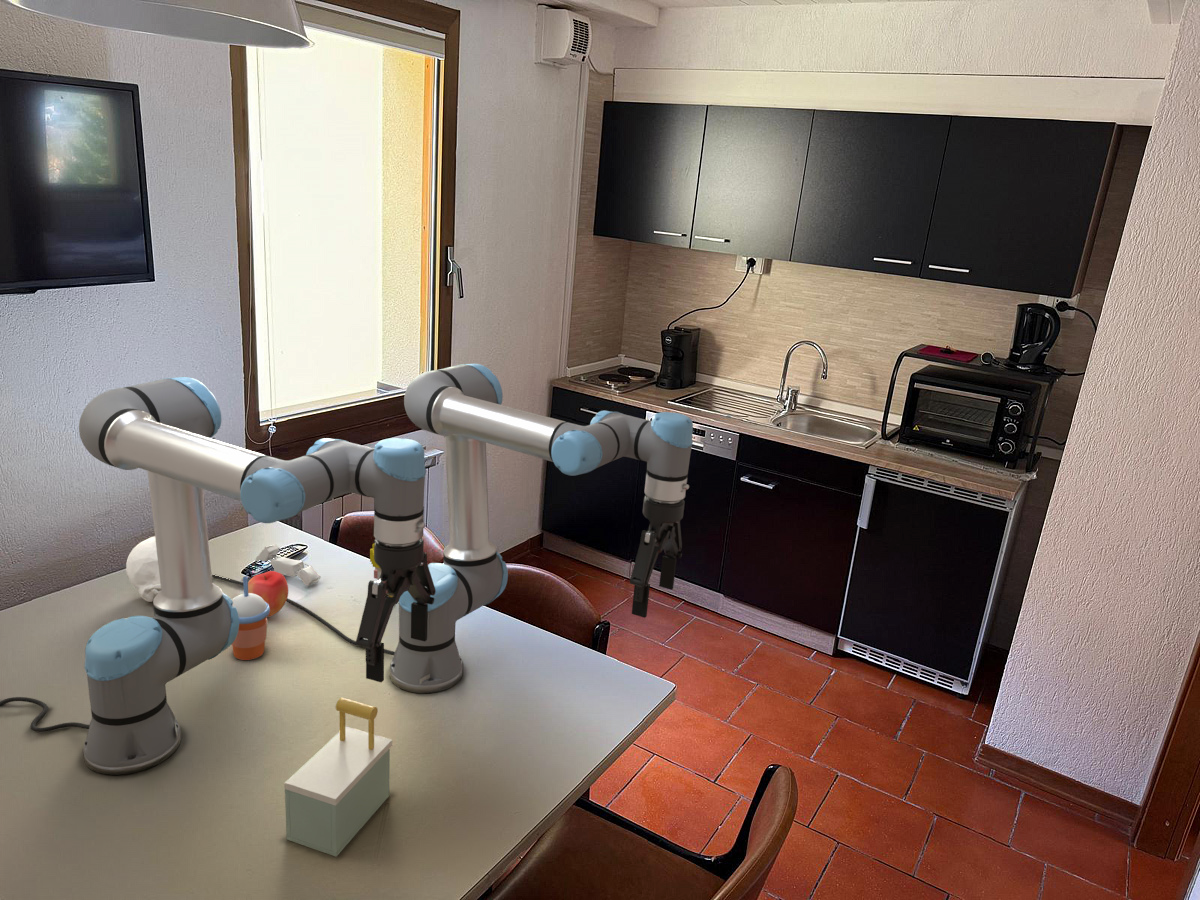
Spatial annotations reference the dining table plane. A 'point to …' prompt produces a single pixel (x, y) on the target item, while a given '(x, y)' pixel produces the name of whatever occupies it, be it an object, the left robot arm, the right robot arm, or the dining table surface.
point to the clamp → (288, 565)
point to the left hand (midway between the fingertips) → (397, 658)
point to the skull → (144, 569)
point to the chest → (337, 812)
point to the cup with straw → (250, 624)
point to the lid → (341, 757)
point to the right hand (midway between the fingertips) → (653, 600)
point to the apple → (270, 589)
